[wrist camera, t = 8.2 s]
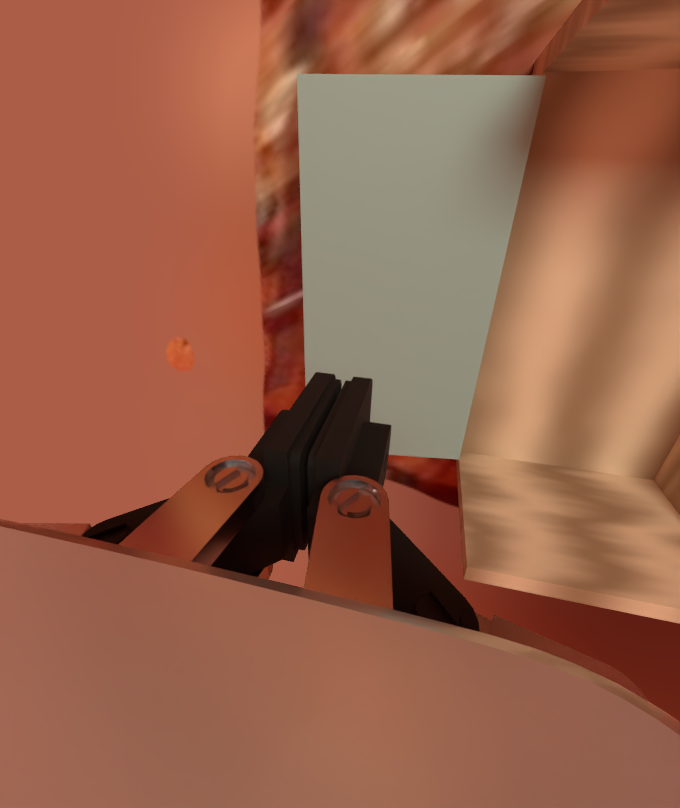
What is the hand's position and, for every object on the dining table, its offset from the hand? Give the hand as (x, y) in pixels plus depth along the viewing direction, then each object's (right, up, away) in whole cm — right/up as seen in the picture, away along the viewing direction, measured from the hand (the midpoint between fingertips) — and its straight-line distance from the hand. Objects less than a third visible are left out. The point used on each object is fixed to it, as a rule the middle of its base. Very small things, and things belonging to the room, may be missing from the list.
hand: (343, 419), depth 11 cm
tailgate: (+9, +6, +11) cm, 15 cm away
